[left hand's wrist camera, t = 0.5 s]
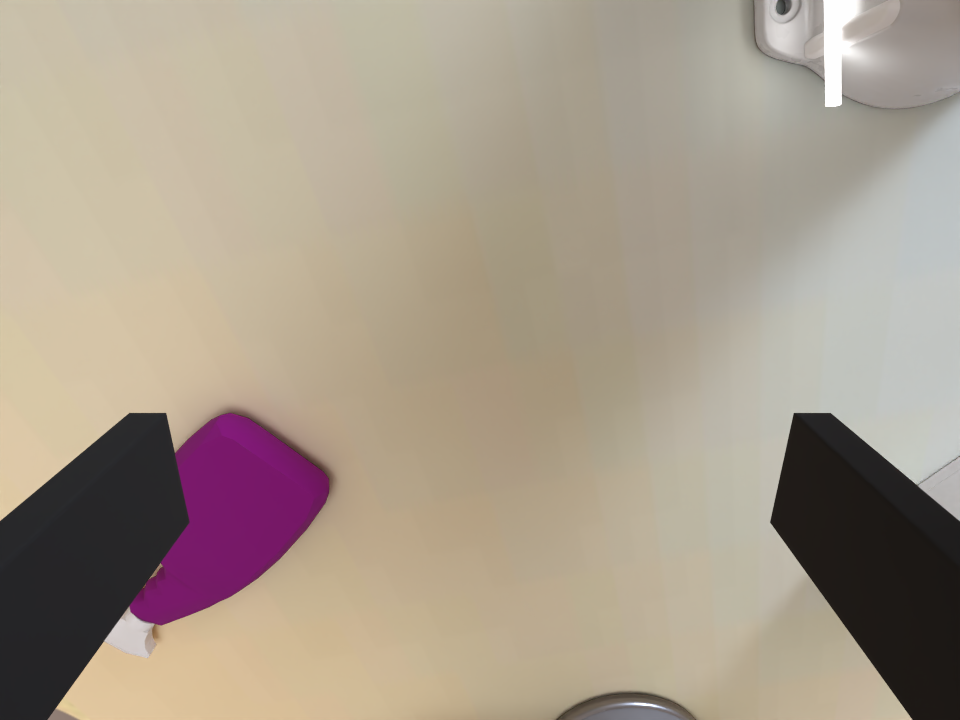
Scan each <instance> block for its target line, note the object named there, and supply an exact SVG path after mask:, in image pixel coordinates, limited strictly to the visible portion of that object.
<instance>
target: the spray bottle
mask: <svg viewBox="0 0 960 720" xmlns="http://www.w3.org/2000/svg"><path fill="white" fill-rule="evenodd" d="M175 457H176V461H177V466H178V470H179V475H180V480H181V484H182V489H183V493H184V498H185V503H186V507H187V512H188V516H189V521H190V523H189V524H188V525H187V527H186V528H185V530H184V531H183V532H182V534H181V535H180V537H179V538H178V539H177V541H176V542H175V543H174V545H173V546H172V548H171V549H170V550H169V552H168V553H167V555H166V556H165V557H164V559H163V560H162V562H161V564H162V565H163V567H162V568H160V570H159V571H158V572H157V576H155V577H153V578H150V579H149V580H148V581H147V582H146V586H145V588H142V589H141V591H140V592H139V593H138V595H137V596H136V598H135V599H134V600H133V602H132V603H131V604H130V606H129V607H128V609H127V610H126V611H125V613H124V614H123V616H122V617H121V618H120V620H119V621H118V622H117V624H116V625H115V627H114V628H113V629H112V631H111V632H110V634H109V635H108V636H107V638H106V639H105V641H104V642H106V643H108V644H110V645H112V646H114V647H116V648H117V649H119V650H121V651H123V652H125V653H128V654H132V655H137V656H141V657H146V658H148V657H149V656H150V654H151V653H152V651H153V649H154V648H155V646H156V643H155V641H154V639H153V636H152V628H153V626H154V625H155V624H158V625H164V624H167V623H169V622H172V621H175V620H177V619H180V618H183V617H185V616H188V615H191V614H193V613H196V612H198V611H201V610H203V609H206V608H208V607H210V606H212V605H214V604H216V603H218V602H220V601H222V600H224V599H226V598H229V597H231V596H232V595H234V594H235V593H237V592H238V591H240V590H242V589H243V588H244V587H246V586H247V585H249V584H250V583H252V582H253V581H255V580H256V579H258V578H259V577H260V576H261V575H262V574H263V573H264V572H266V571H267V570H268V569H269V568H270V567H271V566H272V565H273V564H275V563H276V562H277V561H278V560H279V559H280V558H281V557H282V556H283V555H284V554H285V553H286V551H287V550H288V549H289V548H290V547H291V546H292V545H293V544H294V543H295V542H296V540H297V539H298V538H299V537H300V536H301V535H302V534H303V533H304V532H305V531H306V529H307V528H308V527H309V525H310V524H311V522H312V521H313V520H314V518H315V517H316V515H317V514H318V513H319V511H320V510H321V508H322V507H323V506H324V504H325V503H326V500H327V497H328V494H329V478H328V477H327V476H326V475H325V473H324V472H323V471H322V470H320V469H319V468H318V467H316V466H315V465H313V464H312V463H311V462H309V461H308V460H306V459H305V458H304V457H302V456H301V455H300V454H298V453H297V452H295V451H294V450H293V449H291V448H290V447H288V446H287V445H286V444H284V443H283V442H282V441H280V440H279V439H277V438H276V437H275V436H273V435H272V434H270V433H269V432H268V431H266V430H265V429H263V428H262V427H260V426H259V425H258V424H256V423H255V422H253V421H252V420H250V419H249V418H246V417H243V416H239V415H236V414H232V413H228V414H224V415H220V416H218V417H216V418H214V419H211V420H210V421H209V422H208V423H207V424H205V425H204V426H203V427H202V428H201V429H199V430H198V431H197V432H196V433H195V434H194V435H192V436H191V437H190V438H189V439H188V440H187V441H186V442H185V443H184V444H183V445H182V446H181V447H180V448H179V450H178V451H177V452H176V453H175Z"/></svg>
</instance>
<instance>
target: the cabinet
mask: <svg viewBox="0 0 960 720" xmlns="http://www.w3.org/2000/svg"><path fill="white" fill-rule="evenodd" d="M918 487H920V488H921V489H922V490H923V491H924V492H926V493H927V494H928V495H929V496H930V497H931V498H933V499H934V500H935V501H936V502H937V503H939V504H940V505H941V506H942V507H943V508H945V509H946V510H947V511H948V512H949V513H951V514H952V515H953V516H954V517H955V518H957V519H958V520H959V521H960V457H958V458H957V459H956V460H954V461H953V462H951V463H950V464H948V465H947V466H945V467H944V468H942V469H941V470H940V471H938V472H937V473H935V474H934V475H932V476H931V477H929V478H928V479H926V480H925V481H924V482H922V483H921V484H919V485H918Z"/></svg>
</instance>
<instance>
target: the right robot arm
mask: <svg viewBox="0 0 960 720" xmlns="http://www.w3.org/2000/svg"><path fill="white" fill-rule="evenodd" d="M777 1H778V0H754V12H755V38H756V42H757V45H758V47H759V48H760V50H761V51H762V52H763V53H765V54H766V55H768V56H770V57H773V58H776V59H779V60H782V61H786V62H791V63H795V64H800V65H805V66H806V67H808V68H810V69H811V70H813V71H814V72H815V73H817V74H818V75H819V76H820V77H821V78H822V79H823V80H825V97H826V106H837V105H841V94H843V95H844V96H846V97H848V98H850V99H852V100H854V101H857V102H860V103H862V104H866V105H869V106H874V107H879V108H889V109H900V108H911V107H918V106H922V105H927V104H930V103H934V102H937V101H939V100H942V99H945V98H947V97H949V96H952V95H954V94H956V93H958V92H960V0H783V1H784V2H785V5H786V8H785V11H784V13H783V14H782V15H780V14H778V13H777V11H776V3H777Z"/></svg>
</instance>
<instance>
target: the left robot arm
mask: <svg viewBox="0 0 960 720" xmlns="http://www.w3.org/2000/svg"><path fill="white" fill-rule="evenodd" d="M189 523H190V521H189V516H188V512H187V507H186V503H185V498H184V493H183V489H182V484H181V480H180V475H179V470H178V466H177V461H176V457H175V452H174V447H173V443H172V438H171V434H170V429H169V424H168V420H167V415H166V413H129V414H128V415H127V416H125V417H124V418H123V419H122V420H121V421H119V422H118V423H117V424H116V425H115V426H113V427H112V428H111V429H110V430H109V431H107V432H106V433H105V434H104V435H103V436H101V437H100V438H99V439H98V440H97V441H95V442H94V443H93V444H92V445H91V446H90V447H88V448H87V449H86V450H85V451H84V452H82V453H81V454H80V455H79V456H78V457H76V458H75V459H74V460H73V461H72V462H70V463H69V464H68V465H67V466H66V467H64V468H63V469H62V470H61V471H60V472H58V473H57V474H56V475H55V476H54V477H52V478H51V479H50V480H49V481H48V482H46V483H45V484H44V485H43V486H42V487H40V488H39V489H38V490H37V491H36V492H34V493H33V494H32V495H31V496H30V497H28V498H27V499H26V500H25V501H24V502H23V503H21V504H20V505H19V506H18V507H17V508H15V509H14V510H13V511H12V512H11V513H9V514H8V515H7V516H6V517H5V518H3V519H2V520H1V521H0V720H47V719H48V718H49V717H50V715H51V714H52V713H53V711H54V710H55V708H56V707H57V706H58V704H59V703H60V701H61V700H62V699H63V697H64V696H65V695H66V693H67V692H68V690H69V689H70V688H71V686H72V685H73V683H74V682H75V681H76V679H77V678H78V677H79V675H80V674H81V672H82V671H83V670H84V668H85V667H86V665H87V664H88V663H89V661H90V660H91V659H92V657H93V656H94V654H95V653H96V652H97V650H98V649H99V647H100V646H101V645H102V643H103V642H104V641H105V639H106V638H107V636H108V635H109V634H110V632H111V631H112V629H113V628H114V627H115V625H116V624H117V622H118V621H119V620H120V618H121V617H122V616H123V614H124V613H125V611H126V610H127V609H128V607H129V606H130V604H131V603H132V602H133V600H134V599H135V598H136V596H137V595H138V593H139V592H140V591H141V589H142V588H143V586H144V585H145V584H146V582H147V581H148V580H149V578H150V577H151V575H152V574H153V573H154V571H155V570H156V568H157V567H158V566H159V564H160V563H161V562H162V560H163V559H164V557H165V556H166V555H167V553H168V552H169V550H170V549H171V548H172V546H173V545H174V543H175V542H176V541H177V539H178V538H179V537H180V535H181V534H182V532H183V531H184V530H185V528H186V527H187V525H188V524H189ZM770 523H771V524H772V525H773V527H774V528H775V530H776V531H777V532H778V534H779V535H780V537H781V538H782V539H783V541H784V542H785V543H786V545H787V546H788V548H789V549H790V550H791V552H792V553H793V555H794V556H795V557H796V559H797V560H798V562H799V563H800V564H801V566H802V567H803V568H804V570H805V571H806V573H807V574H808V575H809V577H810V578H811V580H812V581H813V582H814V584H815V585H816V586H817V588H818V589H819V591H820V592H821V593H822V595H823V596H824V598H825V599H826V600H827V602H828V603H829V604H830V606H831V607H832V609H833V610H834V611H835V613H836V614H837V616H838V617H839V618H840V620H841V621H842V622H843V624H844V625H845V627H846V628H847V629H848V631H849V632H850V634H851V635H852V636H853V638H854V639H855V641H856V642H857V643H858V645H859V646H860V647H861V649H862V650H863V652H864V653H865V654H866V656H867V657H868V659H869V660H870V661H871V663H872V664H873V665H874V667H875V668H876V670H877V671H878V672H879V674H880V675H881V677H882V678H883V679H884V681H885V682H886V683H887V685H888V686H889V688H890V689H891V690H892V692H893V693H894V695H895V696H896V697H897V699H898V700H899V701H900V703H901V704H902V706H903V707H904V708H905V710H906V711H907V713H908V714H909V715H910V717H911V718H912V720H960V521H959V520H958V519H957V518H955V517H954V516H953V515H952V514H951V513H949V512H948V511H947V510H946V509H945V508H943V507H942V506H941V505H940V504H939V503H937V502H936V501H935V500H934V499H933V498H931V497H930V496H929V495H928V494H927V493H926V492H924V491H923V490H922V489H921V488H920V487H918V486H917V485H916V484H915V483H914V482H912V481H911V480H910V479H909V478H908V477H906V476H905V475H904V474H903V473H902V472H900V471H899V470H898V469H897V468H896V467H894V466H893V465H892V464H891V463H890V462H888V461H887V460H886V459H885V458H884V457H882V456H881V455H880V454H879V453H878V452H876V451H875V450H874V449H873V448H872V447H870V446H869V445H868V444H867V443H866V442H865V441H863V440H862V439H861V438H860V437H859V436H857V435H856V434H855V433H854V432H853V431H851V430H850V429H849V428H848V427H847V426H845V425H844V424H843V423H842V422H841V421H839V420H838V419H837V418H836V417H835V416H833V415H832V414H831V413H794V415H793V420H792V424H791V429H790V434H789V438H788V443H787V447H786V452H785V457H784V461H783V466H782V470H781V475H780V480H779V484H778V489H777V493H776V498H775V503H774V507H773V512H772V516H771V521H770ZM558 720H696V719H695V718H694V717H693V716H692V715H691V714H690V713H689V712H687V711H686V710H685V709H683V708H682V707H680V706H679V705H677V704H675V703H673V702H671V701H668V700H665V699H662V698H659V697H655V696H650V695H644V694H616V695H609V696H604V697H600V698H596V699H593V700H590V701H587V702H585V703H582V704H580V705H578V706H576V707H574V708H573V709H571V710H569V711H568V712H566V713H565V714H564V715H562V716H561V717H560V718H559V719H558Z"/></svg>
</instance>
